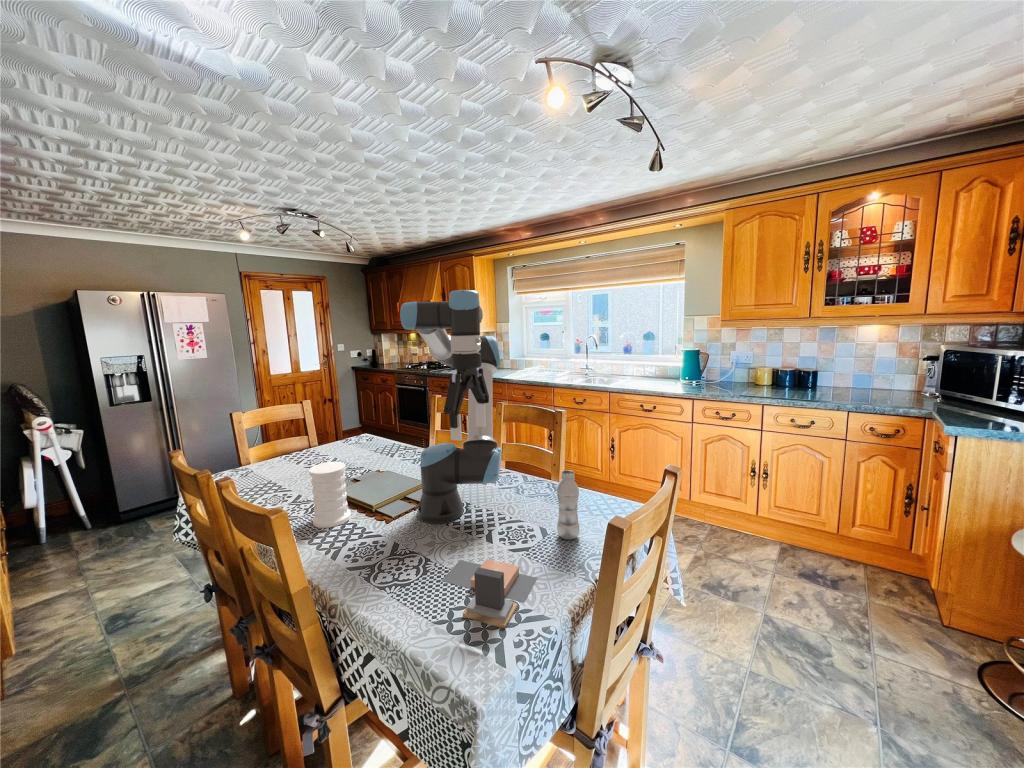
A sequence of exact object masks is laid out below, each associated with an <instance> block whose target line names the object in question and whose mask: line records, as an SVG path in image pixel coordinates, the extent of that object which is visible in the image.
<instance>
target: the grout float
mask: <svg viewBox="0 0 1024 768" xmlns="http://www.w3.org/2000/svg"><path fill="white" fill-rule="evenodd" d="M474 578H475V590H474V595H473V596H472V598H471V600H470V602H469V603H468V604H467V606H466V608H467V612H471V613H475V614H479V615H483V616H487V617H491V618H495V619H499V620H503V621H505V620H506V619H507V617H508V615H509V613H510V611H511V609H512V607H513V603H514V600H511V599H507V598H504V572H499V571H494V570H489V569H484V568H479V567H478V569H477V570H476V572H475V573H474Z"/></svg>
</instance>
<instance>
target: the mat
mask: <svg viewBox="0 0 1024 768" xmlns="http://www.w3.org/2000/svg"><path fill="white" fill-rule="evenodd" d="M481 566H482V564H480V563H476V562H472V561H471V562H470V561H467V560H462V559H459V560H458V562H457V563H456V564H455V565H454V566H453V567H452V568H451V569H450V570H449V572H448V573H447V574H446V575H445V576H444V577H443V578H442V579H441V581H440V582H443V583H447V584H450V585H455V586H458V587H463V588H466V589H471V590H474V591H475V588H472V587H471V582H470V579H471V578H472V577H473V576H474V573H475V572H476V570H477V569H478V567H479V568H480V567H481ZM538 579H539V577H536V576H531V575H526V574H523V573H519V575H518V576H517V578H516V579H515V581H514V583H513V584H512V586H511V587H510V589H509V591H508V592H507V594H506V595H505V596H504V599H507V600H511V601H516V602H520V603H526V601H527V599H528V597H529V595H530V593H531V592H532V589H533V588H534V587H535V586H534V585H535V584H536V582H537V580H538Z"/></svg>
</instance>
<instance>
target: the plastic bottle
mask: <svg viewBox="0 0 1024 768" xmlns="http://www.w3.org/2000/svg"><path fill="white" fill-rule="evenodd" d="M560 478H561V481H560V482H558V484H557V487H556V495H557V501H558V503H557V505H558V515H557V516H558V518H557V519H558V520H557V523H556V530H557V535H558V536H559V537H560V538H561V539H563V540H568V541H569V540H570V541H571V540H575V539H577V538H578V536H579V535H580V523H579V517H578V516H579V515H578V504H579V503H578V502H579V497H580V496H579V495H580V488H579V486H578V485H577V483H576V481H575V471H573V470H570V469H569V470H567V469H565V470H563V471H561V475H560Z"/></svg>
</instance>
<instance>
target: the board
mask: <svg viewBox="0 0 1024 768" xmlns="http://www.w3.org/2000/svg"><path fill="white" fill-rule="evenodd" d="M517 608H518V603H516V602H513V607H512V609H511V611H510V613H509V615H508V617H507V619H506V620H505V621H503V620H499V619H495V618H491V617H487V616H483V615H479V614H475V613H471V612H467V607H466V608H465V609H464V611H463V612H462V617H463V618H467V619H469V620H474V621H477V622H481V623H484V624H487V625H490V626H495V627H498V628H501V629H503V630H504V629H507V627H508V625H509V623H510V621H511V619H512V617H513V616H514V614H515V612H516V610H517Z"/></svg>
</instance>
